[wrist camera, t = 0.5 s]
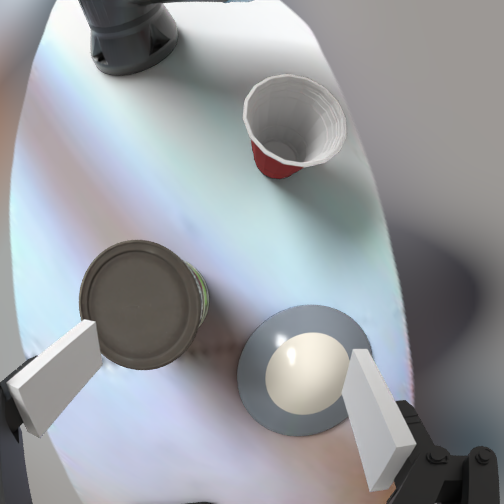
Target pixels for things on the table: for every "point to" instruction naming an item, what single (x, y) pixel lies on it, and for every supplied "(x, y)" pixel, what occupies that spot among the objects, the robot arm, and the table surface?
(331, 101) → the plastic cup
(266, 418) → the slate plate
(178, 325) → the coffee can
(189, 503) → the carrying case or bag
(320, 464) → the table surface
